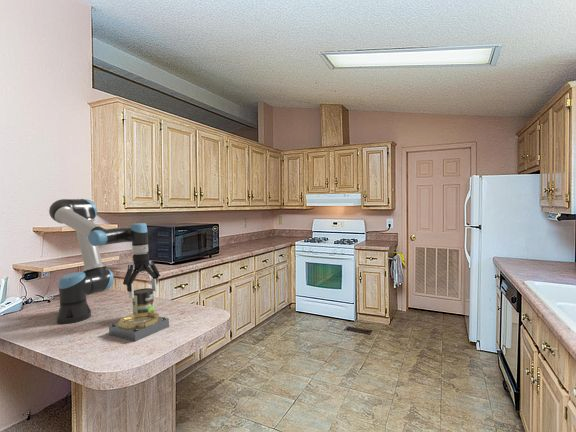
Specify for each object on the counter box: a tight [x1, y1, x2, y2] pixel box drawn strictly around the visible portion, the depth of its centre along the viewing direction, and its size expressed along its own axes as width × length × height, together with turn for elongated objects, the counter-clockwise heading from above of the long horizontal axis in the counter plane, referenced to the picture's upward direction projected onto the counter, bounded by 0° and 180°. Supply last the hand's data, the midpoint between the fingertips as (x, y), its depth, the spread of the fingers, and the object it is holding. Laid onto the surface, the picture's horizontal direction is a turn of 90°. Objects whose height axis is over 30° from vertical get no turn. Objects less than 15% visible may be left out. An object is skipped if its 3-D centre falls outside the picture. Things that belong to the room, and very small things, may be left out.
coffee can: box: [131, 287, 155, 314], centre depth 168 cm, size 10×10×14 cm
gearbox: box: [108, 312, 170, 342], centre depth 150 cm, size 18×18×6 cm
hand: (143, 294), depth 167 cm, fingers open, 13 cm apart
